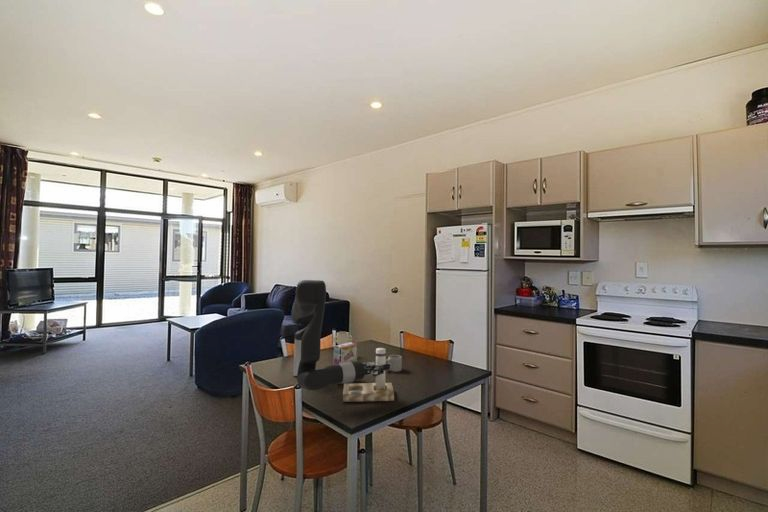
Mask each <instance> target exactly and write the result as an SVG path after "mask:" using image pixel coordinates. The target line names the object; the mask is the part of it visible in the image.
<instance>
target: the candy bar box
mask: <svg viewBox="0 0 768 512" xmlns="http://www.w3.org/2000/svg"><path fill="white" fill-rule="evenodd" d="M332 353H333V355H332V356H333V357H332V363H333V364H332V365H338V364H341V363H345V362H351V361H357V360H358V343H356V342H352V341H349V343H345V344H340V345H338V344H337V345H334V346H333V352H332ZM341 384H343V383H340V384H339V385H341Z"/></svg>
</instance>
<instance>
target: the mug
mask: <svg viewBox="0 0 768 512" xmlns="http://www.w3.org/2000/svg"><path fill="white" fill-rule="evenodd" d="M402 357H403V356H402V355H399V354H390V355H388V358H386V364H390V369H389V370H388V371H389V372H392V373H396V372H401V371H402V367H403V366H402V365H403V364H402V362H403V361H402V359H403V358H402Z"/></svg>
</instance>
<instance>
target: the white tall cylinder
mask: <svg viewBox="0 0 768 512" xmlns="http://www.w3.org/2000/svg"><path fill="white" fill-rule="evenodd" d="M386 351H387V350H386V348H384V347H376V348H375V362H376V365H384V364H387V363H386V360H387V357H386V355H387V352H386ZM378 368H379V367H378ZM375 383H376V389H377V390H384V389H385V383H386V370H384V373H383V374H380V375H378V376H375Z"/></svg>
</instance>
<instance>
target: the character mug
mask: <svg viewBox="0 0 768 512" xmlns="http://www.w3.org/2000/svg"><path fill="white" fill-rule="evenodd" d="M352 341H353V336H352V335H351V334H350V332H347V331H338V332H336V335H334V336H333V343H336V344H337V345H340V344H345V343H349V342H352Z"/></svg>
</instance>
